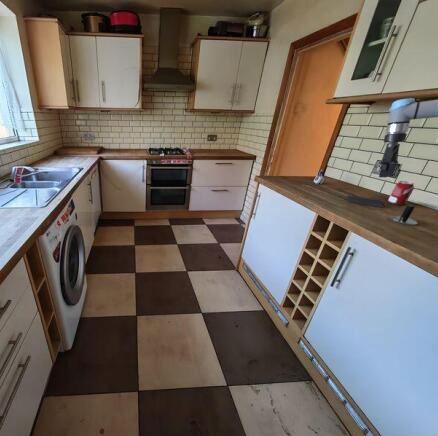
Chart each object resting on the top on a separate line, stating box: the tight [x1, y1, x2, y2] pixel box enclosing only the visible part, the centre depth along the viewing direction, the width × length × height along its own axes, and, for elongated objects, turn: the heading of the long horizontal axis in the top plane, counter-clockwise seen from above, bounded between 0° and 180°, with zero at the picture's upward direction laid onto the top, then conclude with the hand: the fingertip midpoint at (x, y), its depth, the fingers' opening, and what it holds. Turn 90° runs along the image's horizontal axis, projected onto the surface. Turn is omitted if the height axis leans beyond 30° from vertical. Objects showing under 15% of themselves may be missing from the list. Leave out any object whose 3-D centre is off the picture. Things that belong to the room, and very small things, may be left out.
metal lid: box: [388, 204, 418, 227], centre depth 103 cm, size 9×9×8 cm
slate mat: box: [347, 195, 385, 209], centre depth 126 cm, size 14×12×1 cm
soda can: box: [387, 180, 415, 206], centre depth 122 cm, size 7×7×12 cm
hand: (386, 176), depth 118 cm, fingers open, 13 cm apart
